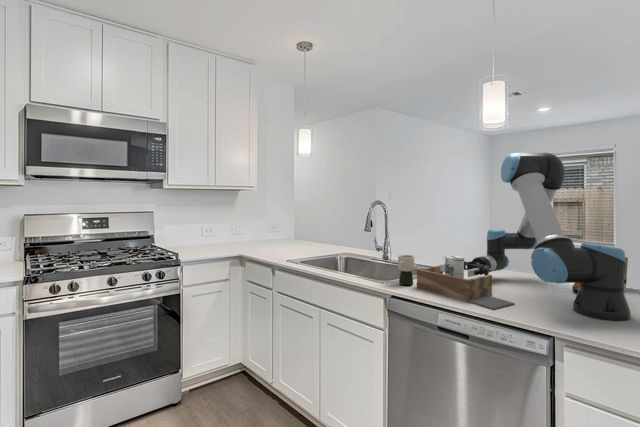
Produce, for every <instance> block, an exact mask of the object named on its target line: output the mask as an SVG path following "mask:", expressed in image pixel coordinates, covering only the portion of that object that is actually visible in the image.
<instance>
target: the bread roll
mask: <svg viewBox="0 0 640 427" xmlns="http://www.w3.org/2000/svg"><path fill="white" fill-rule="evenodd" d="M572 284H573V285H572V288H571V290H572V292H573V293H574V294H576V295H577V293H578V291H579V289H580V283H572Z"/></svg>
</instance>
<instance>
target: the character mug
mask: <svg viewBox="0 0 640 427" xmlns="http://www.w3.org/2000/svg"><path fill="white" fill-rule="evenodd" d="M397 262H398V267H397V269H398V270H399V271H400V273H399V280H398V284H399V285H403V286H410V285H411V286H413V285H414V278H413V272H414V270H415V256H414V255H411V254H401V255H398V256H397Z"/></svg>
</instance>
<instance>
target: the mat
mask: <svg viewBox="0 0 640 427" xmlns="http://www.w3.org/2000/svg"><path fill="white" fill-rule="evenodd" d="M466 302H467V303H470V304H473V305H476V306H480V307H483V308H486V309H489V310H493V311H496V310H499V309H503V308H507V307H510V306H515V302H512V301H509V300H505V299H501V298H497V297H494V296H492V295H490V296H487V295H485V296H482V297H478V298H475V299H471V300H466V299H465V303H466Z"/></svg>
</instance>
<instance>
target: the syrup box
mask: <svg viewBox="0 0 640 427" xmlns="http://www.w3.org/2000/svg"><path fill="white" fill-rule="evenodd" d="M464 261H465V258H464V257H461V256H457V255H446V256H444V264H445V270H444V274H445V275H449V276H454V277H459V278H463V279H465V278H464V277H465V274H464V273H465V270H464Z"/></svg>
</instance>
